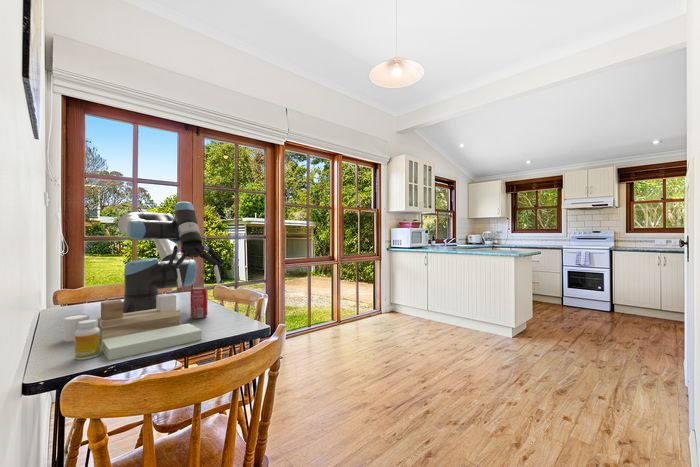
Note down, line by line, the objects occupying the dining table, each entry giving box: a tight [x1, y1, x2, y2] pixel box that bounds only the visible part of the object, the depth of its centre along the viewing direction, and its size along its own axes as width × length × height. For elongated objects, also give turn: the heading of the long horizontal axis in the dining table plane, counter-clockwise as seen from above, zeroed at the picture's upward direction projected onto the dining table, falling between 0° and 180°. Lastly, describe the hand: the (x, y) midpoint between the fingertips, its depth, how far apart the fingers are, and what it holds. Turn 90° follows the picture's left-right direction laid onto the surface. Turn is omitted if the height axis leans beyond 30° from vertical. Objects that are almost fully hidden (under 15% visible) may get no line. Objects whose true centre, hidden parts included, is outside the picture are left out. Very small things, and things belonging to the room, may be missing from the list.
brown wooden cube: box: [100, 299, 123, 320], centre depth 104 cm, size 5×5×5 cm
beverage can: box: [190, 286, 209, 320], centre depth 130 cm, size 6×6×12 cm
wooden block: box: [97, 307, 181, 344], centre depth 109 cm, size 8×22×7 cm, turn 136°
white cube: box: [156, 293, 177, 312], centre depth 115 cm, size 5×5×5 cm
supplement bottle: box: [74, 319, 101, 361], centre depth 88 cm, size 5×5×10 cm
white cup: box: [61, 314, 91, 342], centre depth 104 cm, size 7×7×7 cm
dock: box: [101, 323, 203, 361], centre depth 98 cm, size 11×24×3 cm, turn 136°
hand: (200, 283), depth 120 cm, fingers open, 13 cm apart
